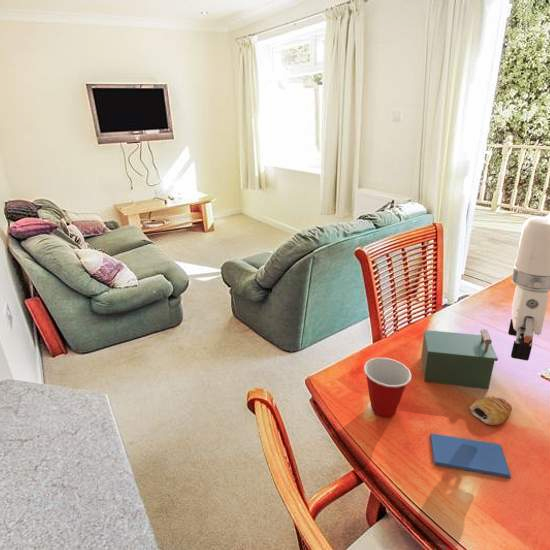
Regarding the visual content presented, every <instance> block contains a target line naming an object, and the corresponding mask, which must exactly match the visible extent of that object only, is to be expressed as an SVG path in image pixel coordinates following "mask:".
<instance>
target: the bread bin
mask: <svg viewBox="0 0 550 550" xmlns="http://www.w3.org/2000/svg"><path fill="white" fill-rule="evenodd" d="M420 360H421V368H422V374H423V375H422V376H423V381H424V382H428V383H436V384H444V385H454V386H460V387H469V388H477V389H485V390H489V389H490V385H491V380H492V376H493V371H494V366H495V361H491V360H481V359H472V358H462V357H453V356H443V355H433V354H428V353H427V347H426V340H425V334H424V333H423V339H422V347H421V356H420Z"/></svg>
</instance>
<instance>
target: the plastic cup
mask: <svg viewBox="0 0 550 550" xmlns="http://www.w3.org/2000/svg"><path fill="white" fill-rule="evenodd" d="M363 370H364V374H365V376H366V382H367V390H368V397H369V400H370V407H371V411H372V412H373V414H375V415H376V416H378V417H379V418H383V419H384V418H386V419H388V418H392V417H394V416H395V414H396V413H397V410H398V407H399V405H400V402H401V399H402V396H403V393H404V390H405V389H406V387H407V385H408V384H409V383H410V382H411V380H412V372H411V371H410V369H409V368H408V367H407V366H406V365H405V364H404V363H402V362H400V361H398V360H397V359H393V358H388V357H373V358H370V359H369V360H367V361H366V362H365V363H364V366H363Z"/></svg>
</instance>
